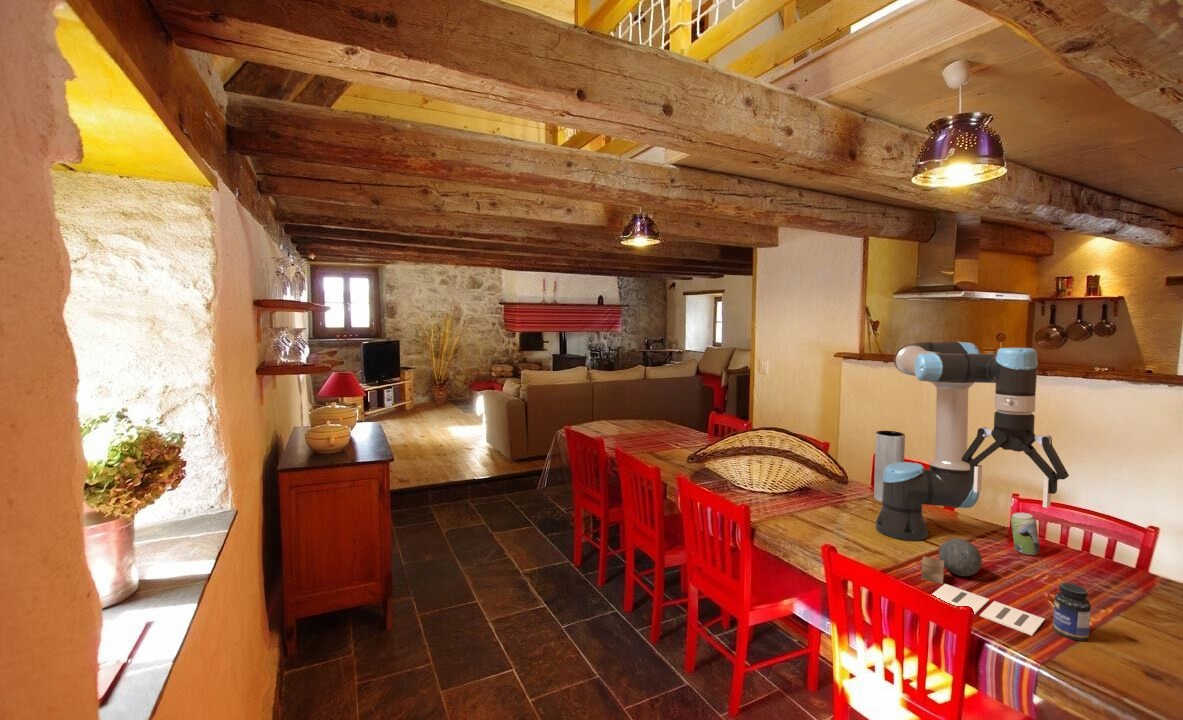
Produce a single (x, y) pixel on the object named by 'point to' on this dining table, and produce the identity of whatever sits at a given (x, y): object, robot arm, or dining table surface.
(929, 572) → the walnut block
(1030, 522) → the beverage can
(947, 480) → the robot arm
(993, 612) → the coaster
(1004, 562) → the dining table surface
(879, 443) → the vase
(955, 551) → the decorative ball
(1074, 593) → the pill bottle
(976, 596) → the coaster
